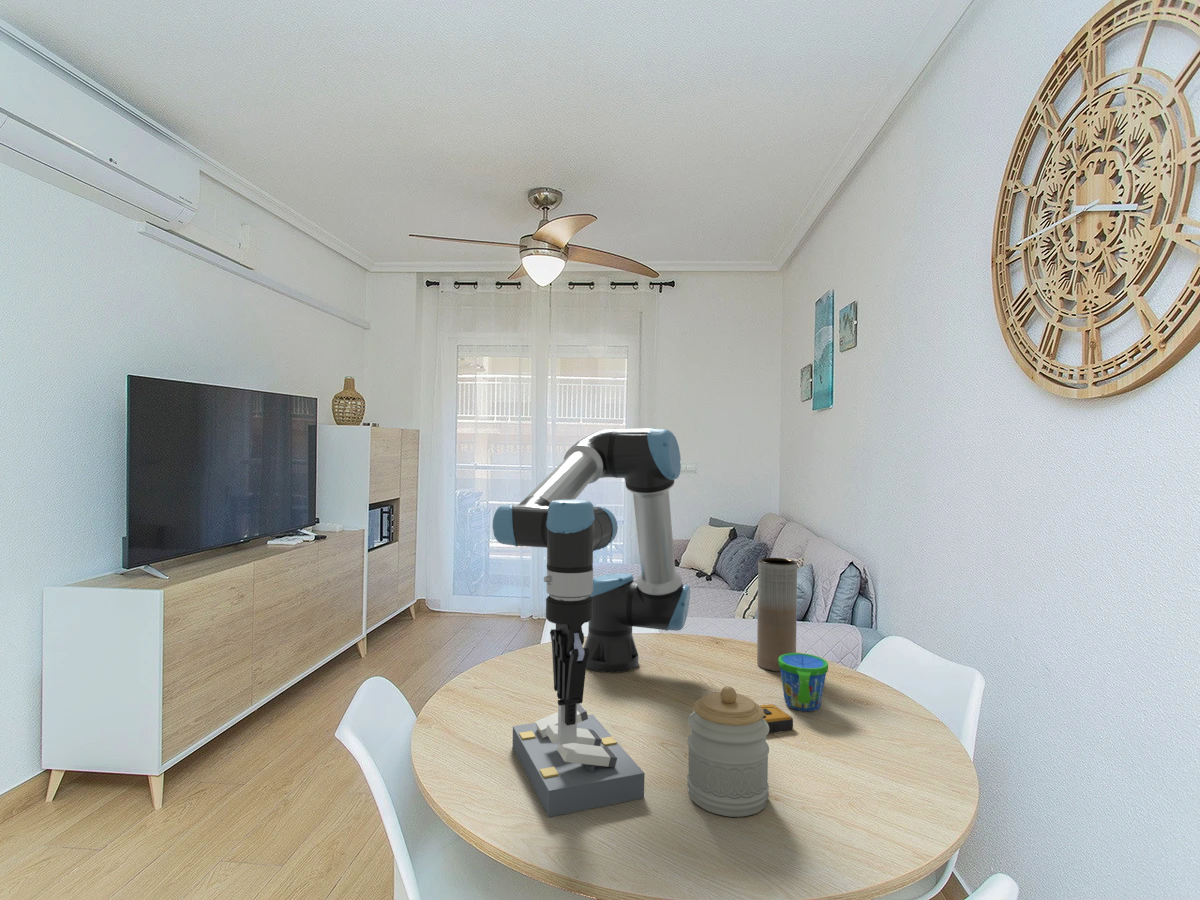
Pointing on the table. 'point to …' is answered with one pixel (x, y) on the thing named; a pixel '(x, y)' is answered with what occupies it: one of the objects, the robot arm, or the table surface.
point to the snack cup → (802, 680)
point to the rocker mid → (582, 735)
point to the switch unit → (576, 772)
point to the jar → (728, 754)
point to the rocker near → (587, 754)
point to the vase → (776, 611)
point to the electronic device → (777, 719)
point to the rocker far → (553, 720)
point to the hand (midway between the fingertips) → (567, 741)
